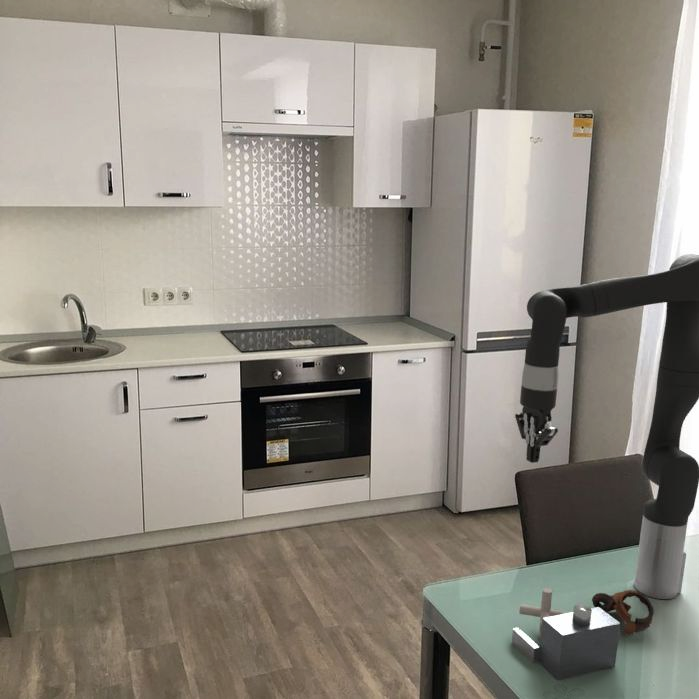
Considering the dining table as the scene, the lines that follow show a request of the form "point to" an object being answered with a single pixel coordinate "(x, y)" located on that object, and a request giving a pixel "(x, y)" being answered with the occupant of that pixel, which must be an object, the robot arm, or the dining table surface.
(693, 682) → the dining table surface
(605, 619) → the grey boxy knob-topped device
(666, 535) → the robot arm
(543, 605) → the pipe connector
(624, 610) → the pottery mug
